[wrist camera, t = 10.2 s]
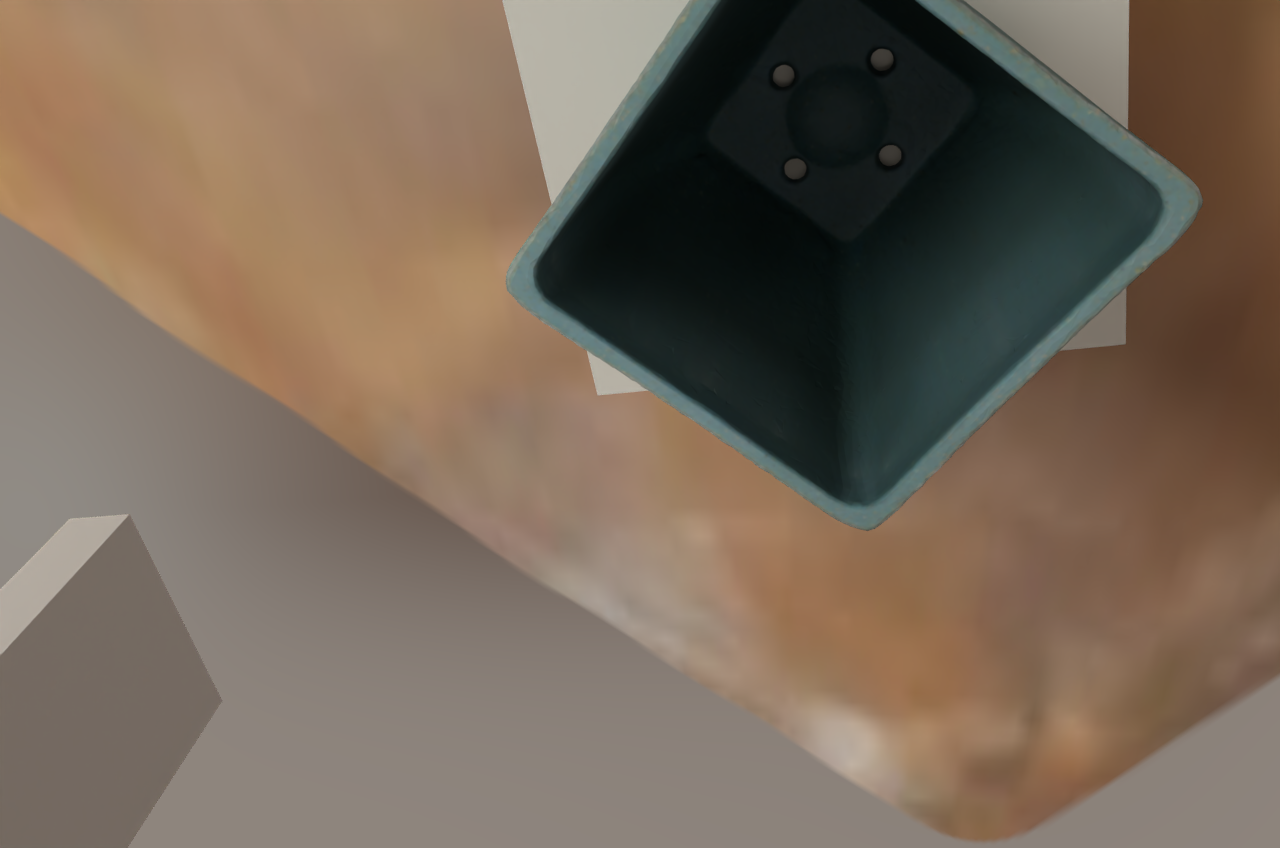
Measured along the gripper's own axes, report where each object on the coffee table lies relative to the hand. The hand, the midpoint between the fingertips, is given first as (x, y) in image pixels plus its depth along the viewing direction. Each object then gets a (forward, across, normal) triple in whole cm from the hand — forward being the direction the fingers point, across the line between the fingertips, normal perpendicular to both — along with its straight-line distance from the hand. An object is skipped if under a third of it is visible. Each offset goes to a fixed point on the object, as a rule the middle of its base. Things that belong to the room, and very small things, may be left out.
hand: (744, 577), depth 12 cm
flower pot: (+19, +1, -1) cm, 19 cm away
